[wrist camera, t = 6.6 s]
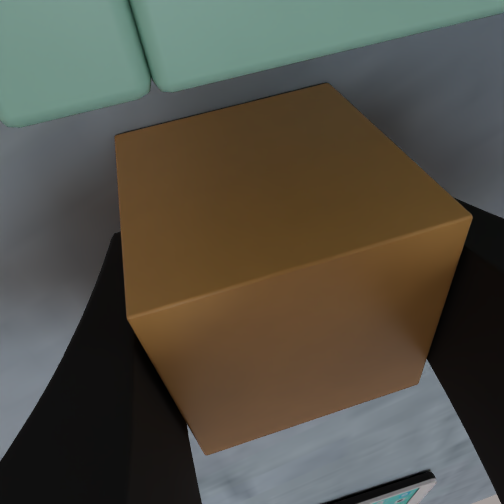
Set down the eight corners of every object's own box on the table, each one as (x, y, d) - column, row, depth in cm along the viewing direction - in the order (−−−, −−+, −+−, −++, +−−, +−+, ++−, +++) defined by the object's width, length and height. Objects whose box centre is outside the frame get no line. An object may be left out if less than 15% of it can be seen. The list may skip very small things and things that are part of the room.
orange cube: (327, 238, 12) (419, 385, 9) (173, 283, 12) (205, 457, 8) (328, 81, 9) (475, 215, 6) (113, 134, 9) (125, 319, 5)
